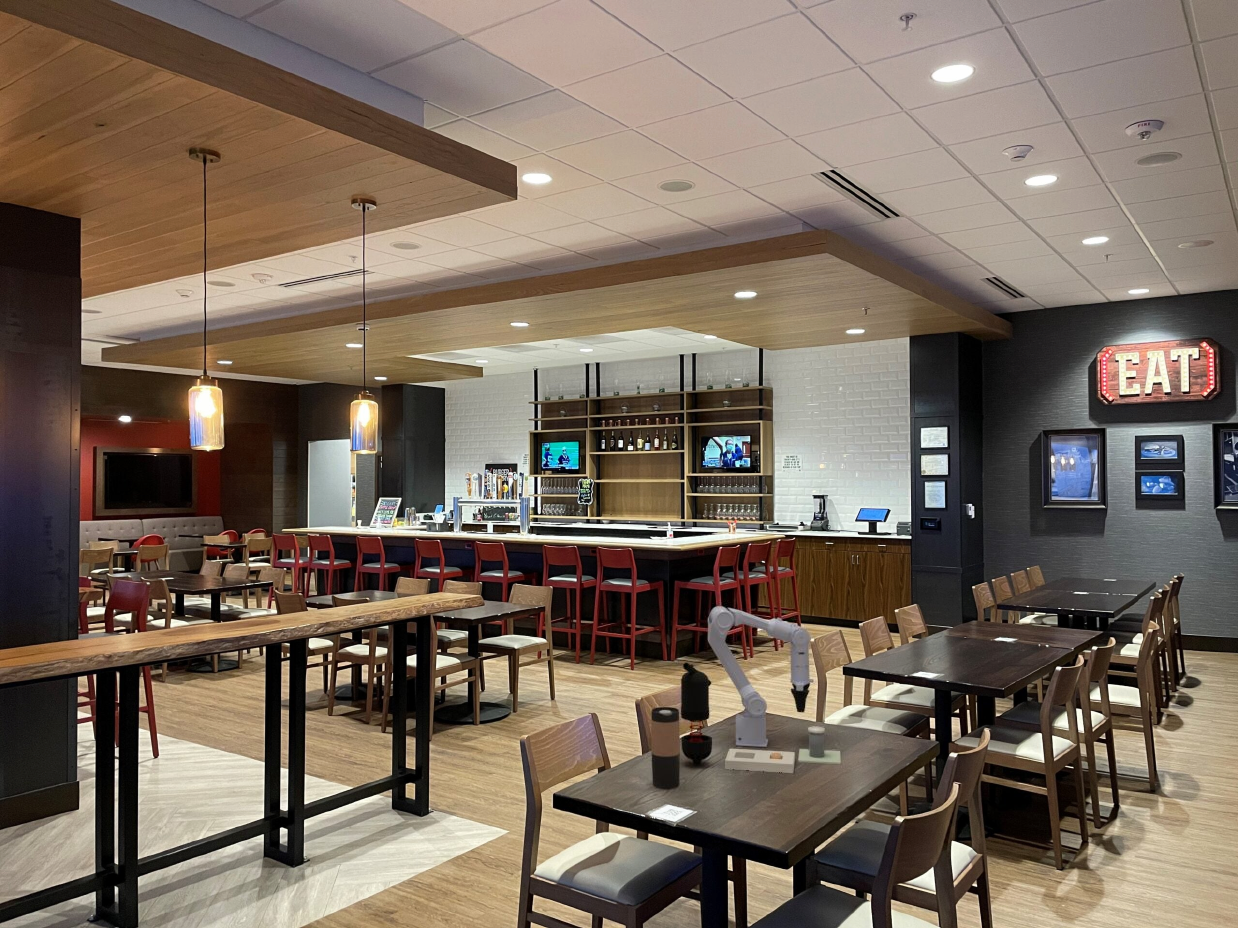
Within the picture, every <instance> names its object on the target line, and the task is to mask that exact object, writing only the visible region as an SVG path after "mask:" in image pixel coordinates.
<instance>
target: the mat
mask: <svg viewBox="0 0 1238 928" xmlns="http://www.w3.org/2000/svg"><path fill="white" fill-rule="evenodd" d="M824 754H825V756H824V757H822V758H814V757H811V756H809V748H808V749H807V748H799V752H798V758H797V759H798V761H797V762H798V763H806V764H809V763H810V764H822V765H823V764H826V765H839V766H840V765H841V763H842V761H841V751H840V750H825V749H824Z"/></svg>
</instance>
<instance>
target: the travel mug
mask: <svg viewBox="0 0 1238 928" xmlns="http://www.w3.org/2000/svg"><path fill="white" fill-rule="evenodd" d="M650 728H651V729H650V730H651V736H650V739H651V742H650V743H651V745H650V746H651V749H650V750H651V770H652V773H651V774H652V786H653V787H655V788H657V789H660V790H661V789H662V790H672V789H677V788H678V787H679V786H680V768H681V767H680V765H681V763H680V762H681V747H680V745H681V743H680V739H681V738H680V710H679V708H676V707H673V706H672V707H671V706H659V707H658V706H657V707H654V708H652V709H651V727H650Z"/></svg>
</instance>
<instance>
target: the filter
mask: <svg viewBox="0 0 1238 928" xmlns="http://www.w3.org/2000/svg"><path fill="white" fill-rule="evenodd" d="M682 667H683V670H684V671H686V672H684V674H683V675H682V676H681V678H680V684H681V685H680V692H681V695H680V701H681V702H680V703H681V704H680V717H681V719H683V720H685V721H688V722H691V725H689V728H690V730H691V731H690V732H689V734H685V735H683V736H681V738H680V739H681V750H682V753H683V756H685V758H687V759H689V760H691V762H692V765H693V766H701V765H702V761H703V760H706V759H707V758H708V757H709V756H710V755H711V754H712V752H713V751H712V750H713V737H712V736H709V735H706V734H703V733H702V732H701V729H703V726H702V725H701V724H694V725H693V723H701V722H703V721H706V720H709V718H710V700H709V699H710V687H711V685H712V681H711V680H710V679H709V677H708V675H707V674H706V673H704V672H703V671H701V670H698V669H697V668H695V666H694V664H692V663H691V664H690V663H688V662H684V663H683V665H682ZM693 730H699V731H693Z"/></svg>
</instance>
